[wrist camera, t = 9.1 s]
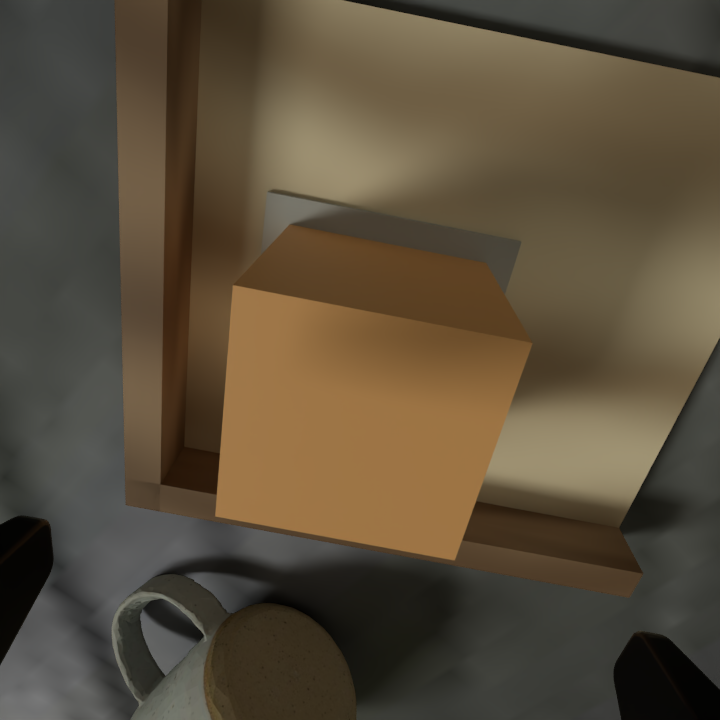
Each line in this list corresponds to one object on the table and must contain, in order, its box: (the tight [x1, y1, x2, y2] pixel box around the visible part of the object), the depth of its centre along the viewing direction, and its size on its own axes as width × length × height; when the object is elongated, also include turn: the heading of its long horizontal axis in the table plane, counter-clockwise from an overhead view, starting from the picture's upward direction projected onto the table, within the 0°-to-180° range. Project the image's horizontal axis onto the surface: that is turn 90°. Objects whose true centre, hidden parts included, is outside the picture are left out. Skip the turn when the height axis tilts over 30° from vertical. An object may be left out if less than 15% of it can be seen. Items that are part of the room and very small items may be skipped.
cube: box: [215, 224, 533, 560], centre depth 14 cm, size 6×6×6 cm
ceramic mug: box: [112, 574, 356, 720], centre depth 22 cm, size 11×8×8 cm
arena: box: [115, 0, 720, 598], centre depth 16 cm, size 16×18×3 cm
